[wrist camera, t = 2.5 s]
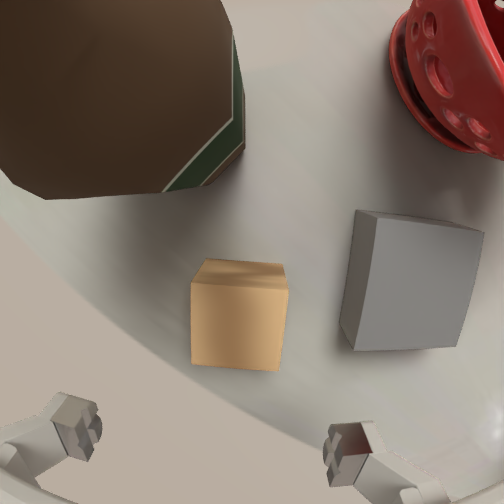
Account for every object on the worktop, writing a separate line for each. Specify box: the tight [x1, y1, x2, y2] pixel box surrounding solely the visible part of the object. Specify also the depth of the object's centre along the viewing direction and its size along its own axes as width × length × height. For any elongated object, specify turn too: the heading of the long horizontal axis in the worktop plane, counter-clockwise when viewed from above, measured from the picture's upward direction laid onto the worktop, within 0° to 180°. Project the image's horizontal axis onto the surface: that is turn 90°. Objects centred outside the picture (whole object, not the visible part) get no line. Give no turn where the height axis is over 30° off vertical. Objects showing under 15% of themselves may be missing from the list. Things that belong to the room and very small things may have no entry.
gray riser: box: [339, 210, 484, 351], centre depth 19 cm, size 8×8×4 cm
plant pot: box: [389, 0, 504, 161], centre depth 11 cm, size 13×13×12 cm
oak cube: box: [191, 258, 289, 371], centre depth 19 cm, size 5×5×5 cm
